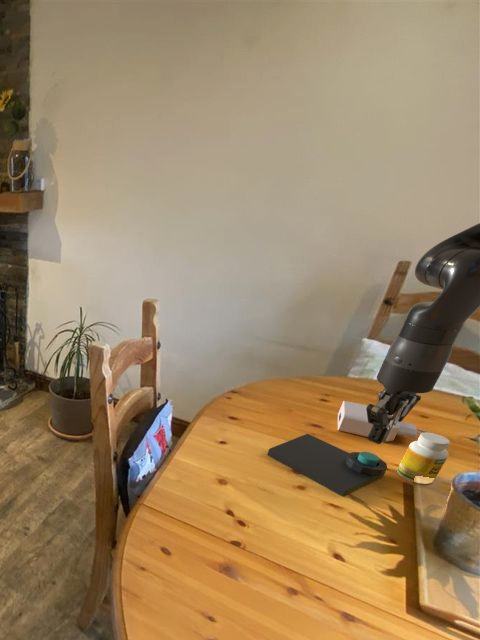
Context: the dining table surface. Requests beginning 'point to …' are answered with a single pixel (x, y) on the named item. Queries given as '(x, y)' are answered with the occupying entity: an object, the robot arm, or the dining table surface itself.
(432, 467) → the supplement bottle
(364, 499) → the dining table surface
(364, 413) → the charger
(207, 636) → the dining table surface
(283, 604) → the dining table surface
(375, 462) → the tare button
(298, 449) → the scale
